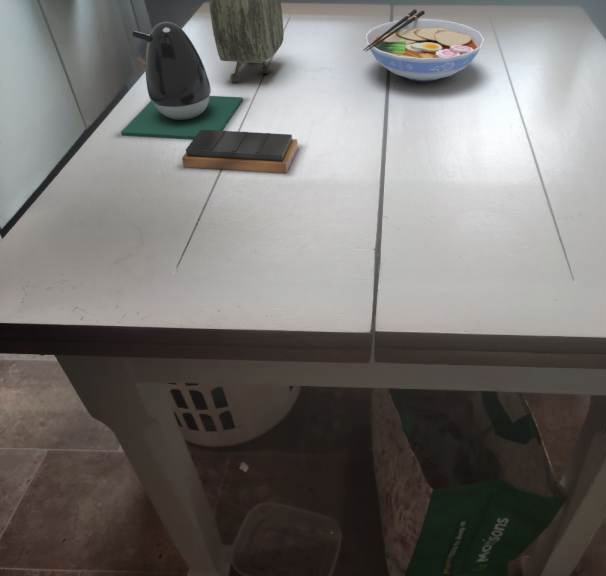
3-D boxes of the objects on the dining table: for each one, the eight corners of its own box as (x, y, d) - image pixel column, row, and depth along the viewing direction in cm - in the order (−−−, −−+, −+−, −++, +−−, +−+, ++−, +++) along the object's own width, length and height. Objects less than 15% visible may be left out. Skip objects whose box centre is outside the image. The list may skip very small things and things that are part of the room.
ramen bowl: (452, 110, 109) (455, 64, 104) (341, 86, 117) (339, 42, 111) (498, 64, 126) (503, 23, 121) (398, 46, 134) (399, 7, 128)
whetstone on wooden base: (183, 167, 93) (179, 150, 91) (201, 142, 99) (198, 126, 97) (286, 173, 92) (284, 156, 90) (298, 148, 98) (296, 132, 96)
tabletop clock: (246, 58, 128) (227, -79, 111) (288, 61, 127) (275, -77, 110) (222, 86, 117) (197, -62, 101) (268, 89, 116) (250, -60, 100)
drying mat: (121, 135, 101) (120, 132, 101) (159, 96, 113) (158, 93, 113) (215, 140, 100) (214, 137, 99) (243, 100, 112) (242, 97, 111)
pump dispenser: (155, 103, 109) (133, 14, 99) (215, 99, 111) (198, 11, 101) (150, 129, 101) (125, 35, 92) (214, 124, 103) (196, 31, 93)
